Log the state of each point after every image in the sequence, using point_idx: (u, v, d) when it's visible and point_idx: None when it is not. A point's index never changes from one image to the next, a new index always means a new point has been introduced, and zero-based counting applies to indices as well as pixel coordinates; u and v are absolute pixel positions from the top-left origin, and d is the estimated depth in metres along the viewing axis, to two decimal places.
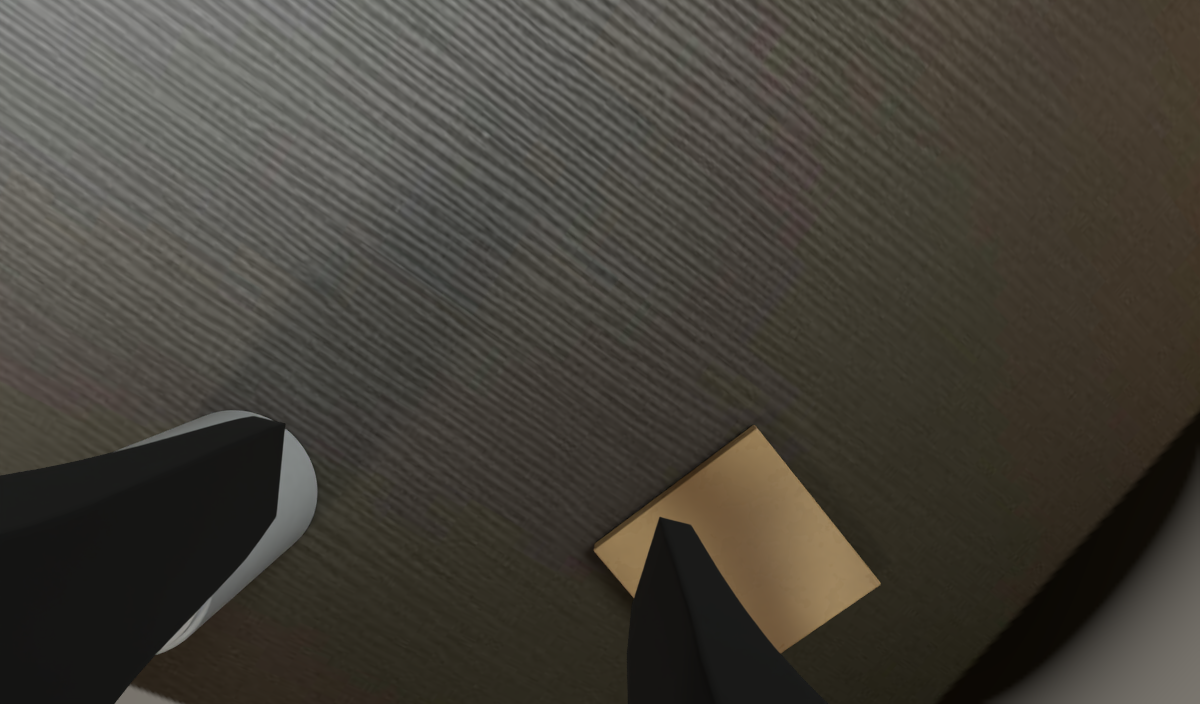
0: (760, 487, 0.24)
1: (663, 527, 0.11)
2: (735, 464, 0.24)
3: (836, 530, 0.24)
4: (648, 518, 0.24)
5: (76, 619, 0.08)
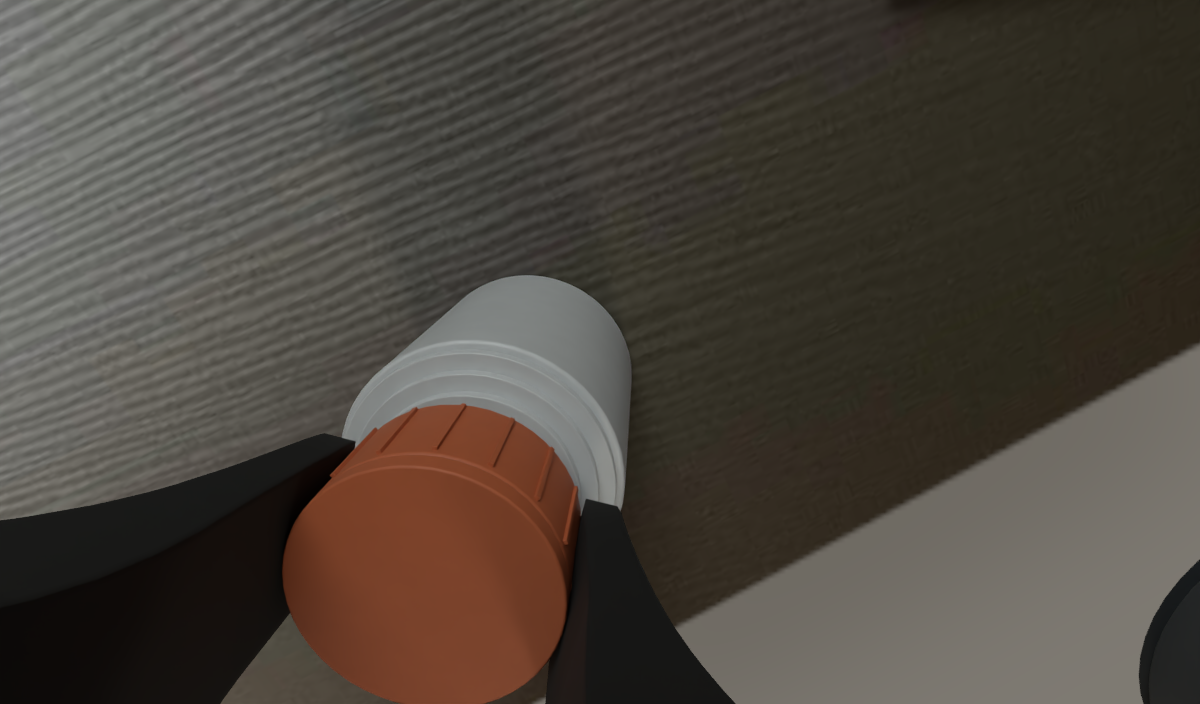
0: None
1: (585, 508, 0.11)
2: None
3: None
4: None
5: (181, 645, 0.08)
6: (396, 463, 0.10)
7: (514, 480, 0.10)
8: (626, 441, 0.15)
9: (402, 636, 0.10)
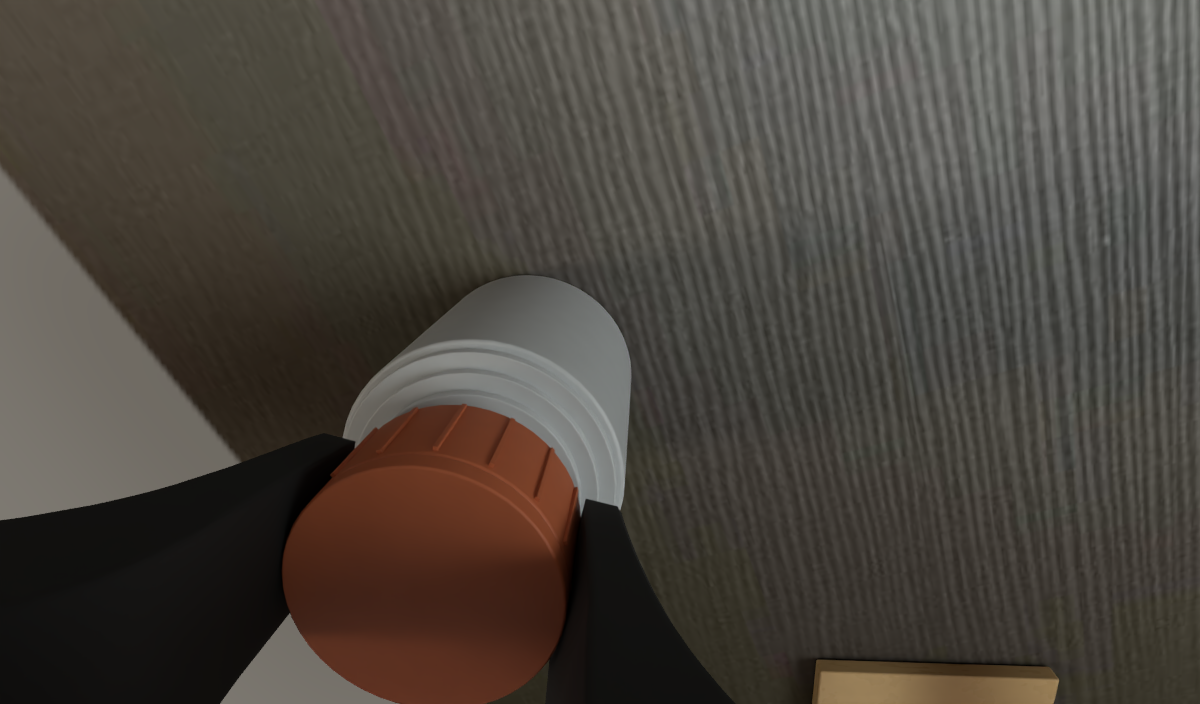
0: None
1: (585, 508, 0.11)
2: (1011, 692, 0.22)
3: None
4: (894, 681, 0.22)
5: (181, 645, 0.08)
6: (397, 463, 0.10)
7: (515, 481, 0.10)
8: None
9: (401, 636, 0.10)
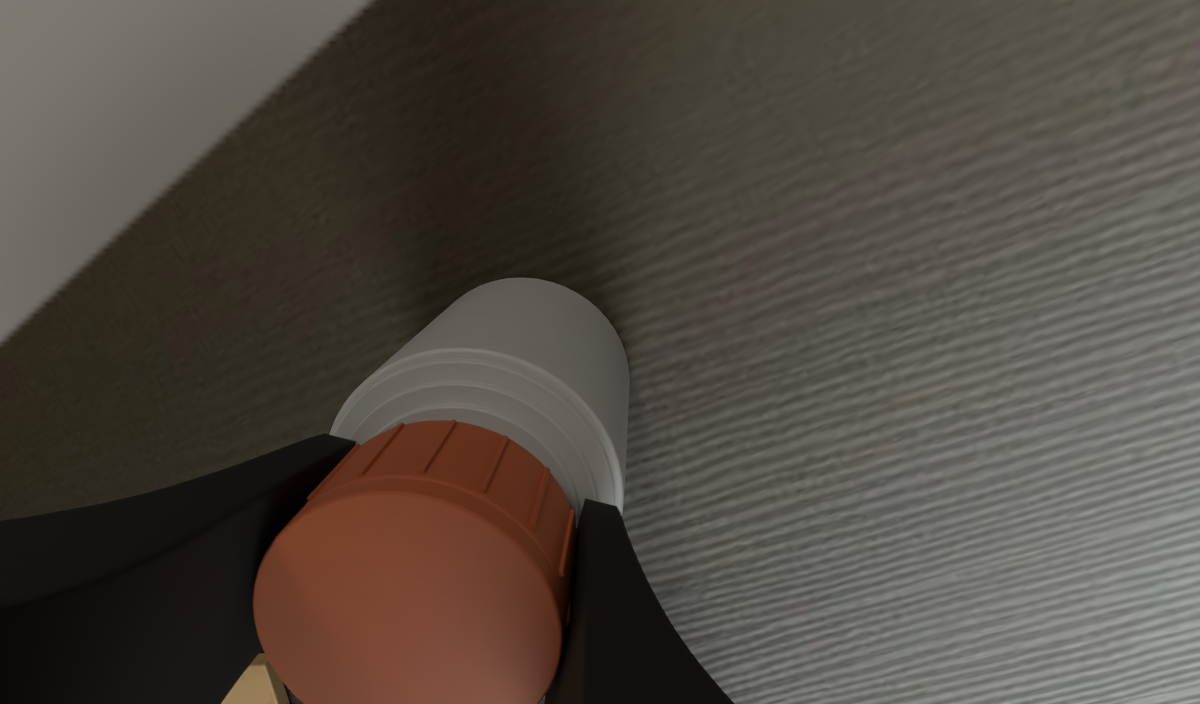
0: None
1: (584, 507, 0.11)
2: None
3: None
4: None
5: (183, 645, 0.08)
6: (379, 489, 0.09)
7: (507, 506, 0.09)
8: None
9: (383, 673, 0.10)
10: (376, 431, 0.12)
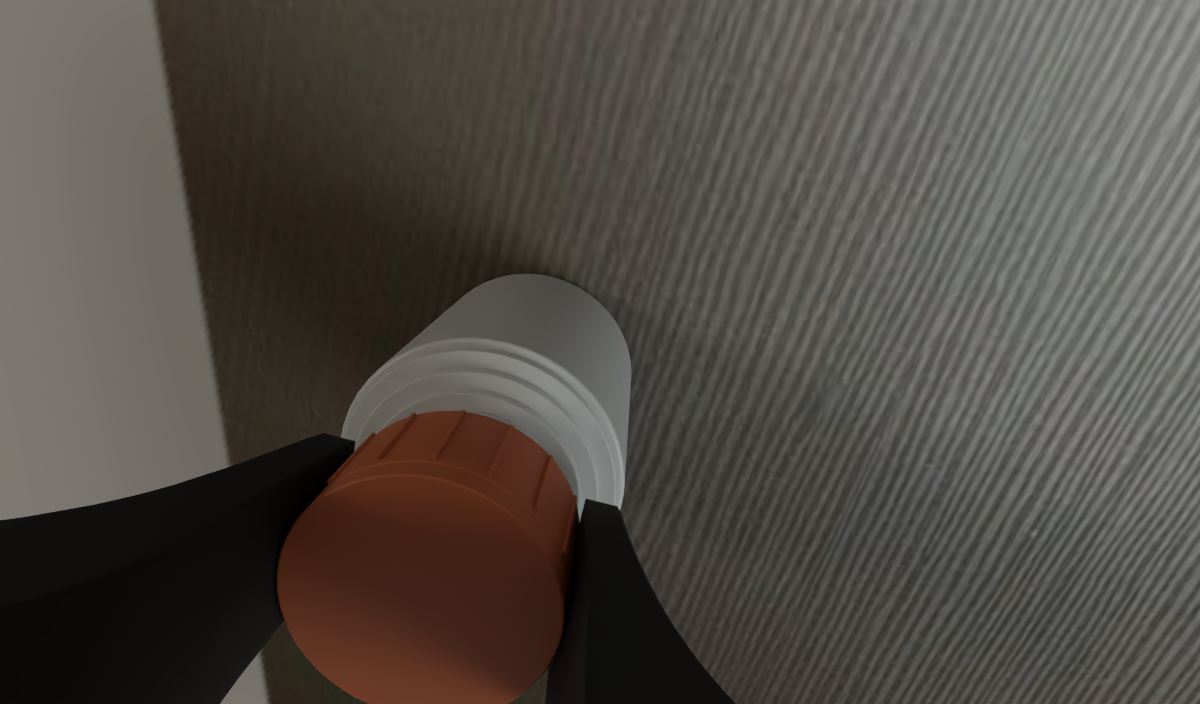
0: None
1: (585, 508, 0.11)
2: None
3: None
4: None
5: (181, 645, 0.08)
6: None
7: None
8: None
9: (441, 563, 0.10)
10: None
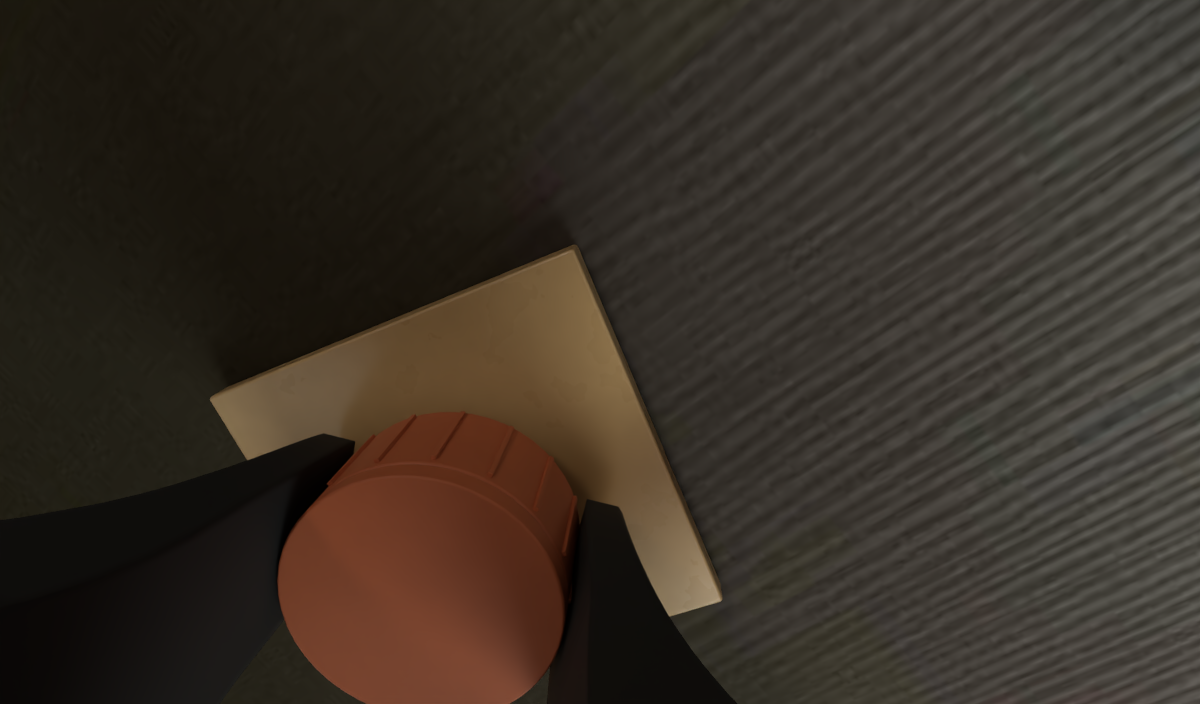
0: None
1: (586, 508, 0.11)
2: (670, 552, 0.13)
3: None
4: (612, 379, 0.12)
5: (181, 645, 0.08)
6: None
7: None
8: None
9: (441, 564, 0.10)
10: None
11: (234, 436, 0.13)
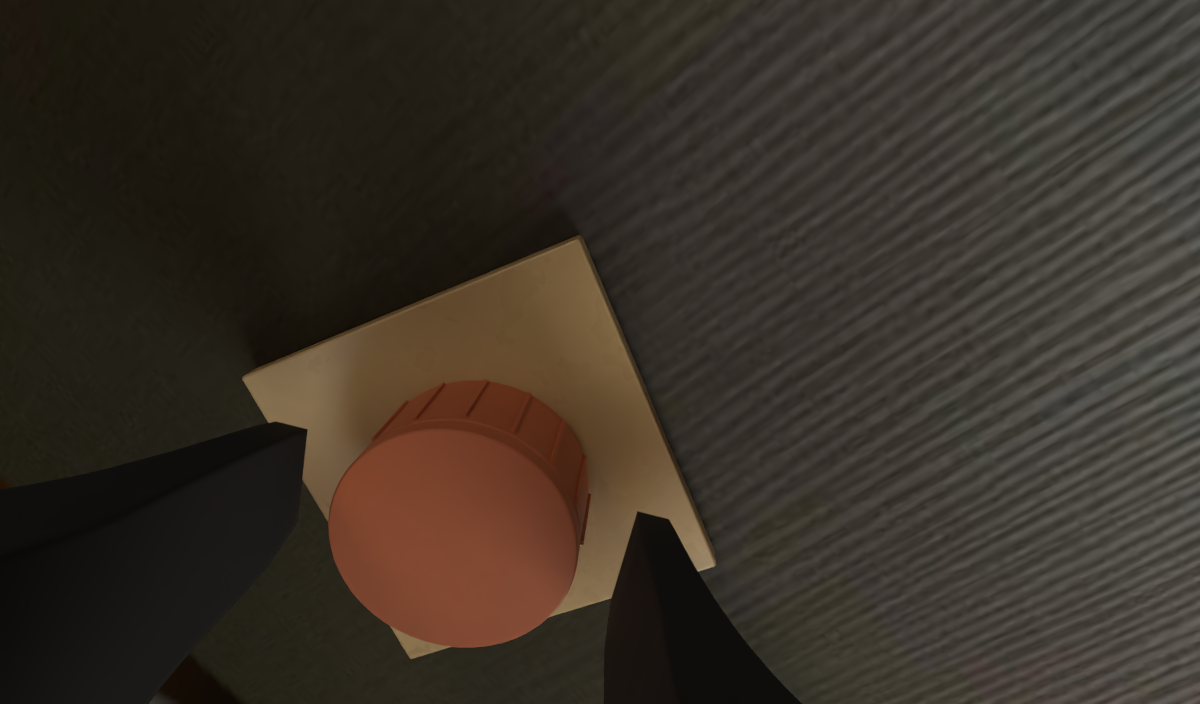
0: (615, 545, 0.14)
1: (640, 521, 0.11)
2: None
3: None
4: (614, 358, 0.13)
5: (109, 627, 0.08)
6: (470, 645, 0.12)
7: None
8: None
9: (471, 507, 0.11)
10: None
11: (264, 413, 0.14)
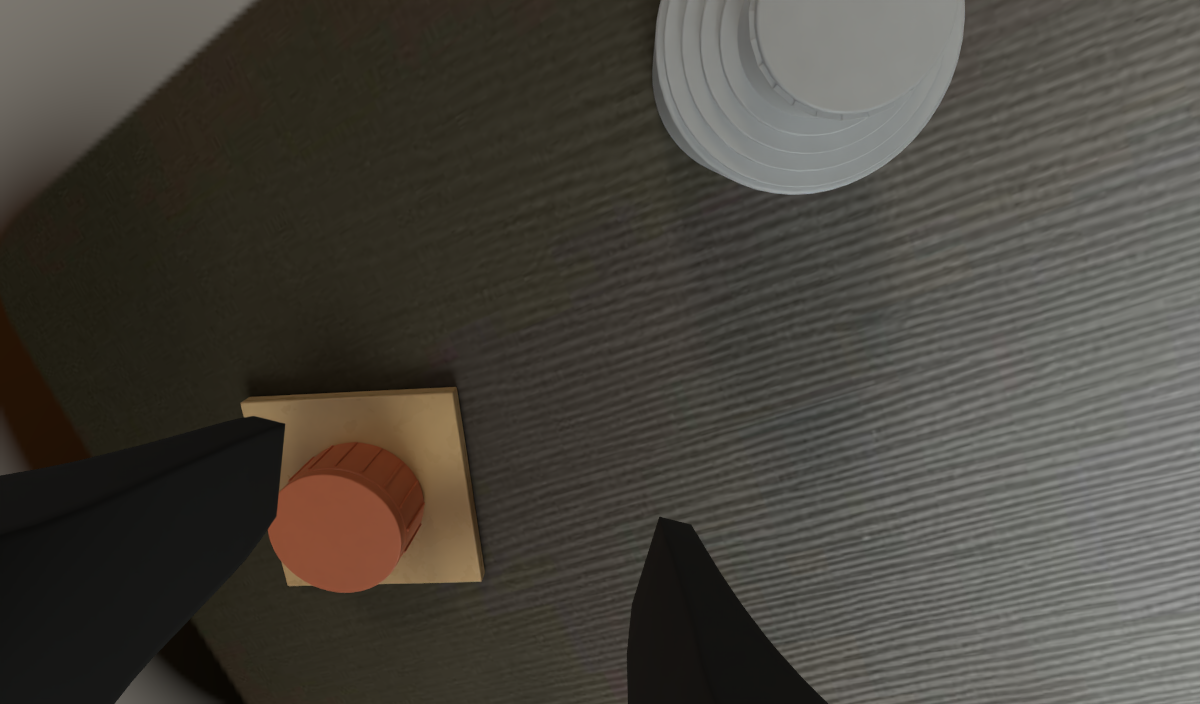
0: (428, 555, 0.24)
1: (663, 527, 0.11)
2: (460, 549, 0.24)
3: None
4: (454, 457, 0.23)
5: (77, 619, 0.08)
6: (327, 589, 0.22)
7: None
8: (662, 102, 0.15)
9: (350, 520, 0.21)
10: None
11: None
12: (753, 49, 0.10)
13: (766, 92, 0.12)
